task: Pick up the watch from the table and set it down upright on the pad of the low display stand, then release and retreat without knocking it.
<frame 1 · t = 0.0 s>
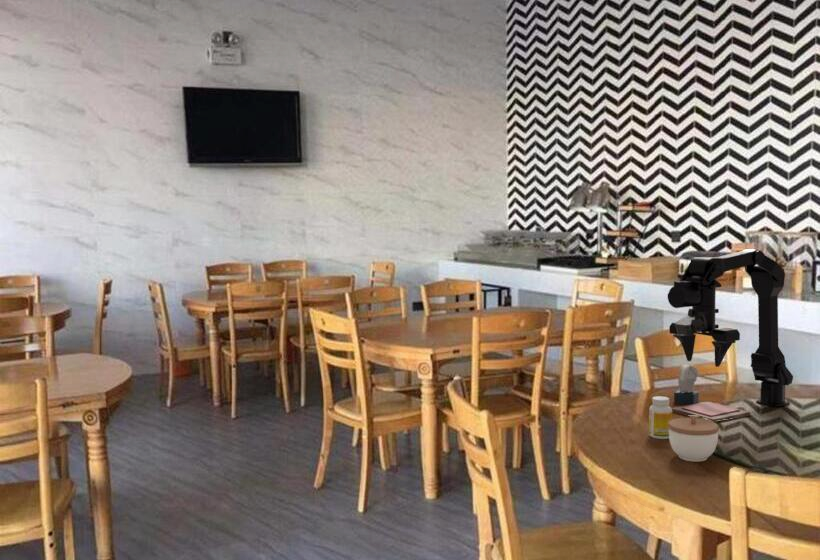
hand: (703, 363, 209), 15 cm above the table, fingers open, 9 cm apart
watch: (686, 403, 227), on the table
supplement bottle: (660, 437, 194), on the table
display plinth: (710, 413, 214), on the table
lidded jar: (692, 458, 178), on the table
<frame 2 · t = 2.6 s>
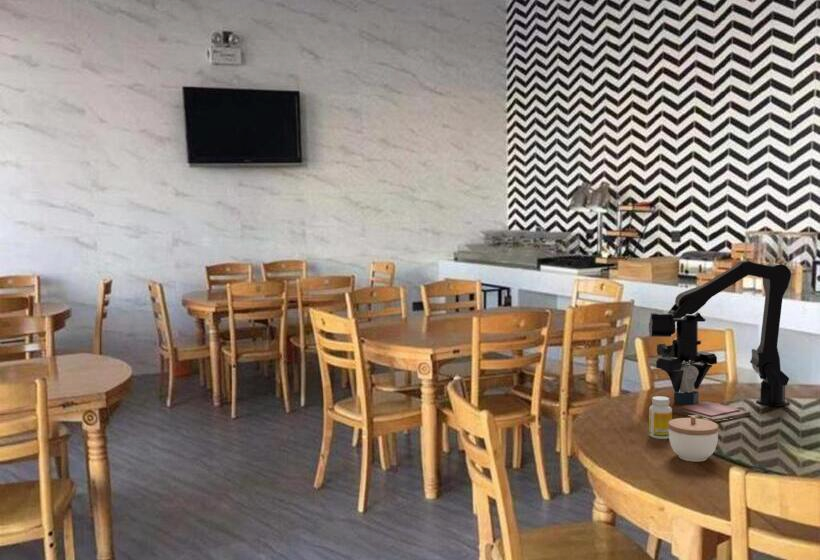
hand: (686, 390, 226), 4 cm above the table, fingers closed on watch, 7 cm apart
watch: (686, 403, 227), on the table, touching gripper
everything else where it was.
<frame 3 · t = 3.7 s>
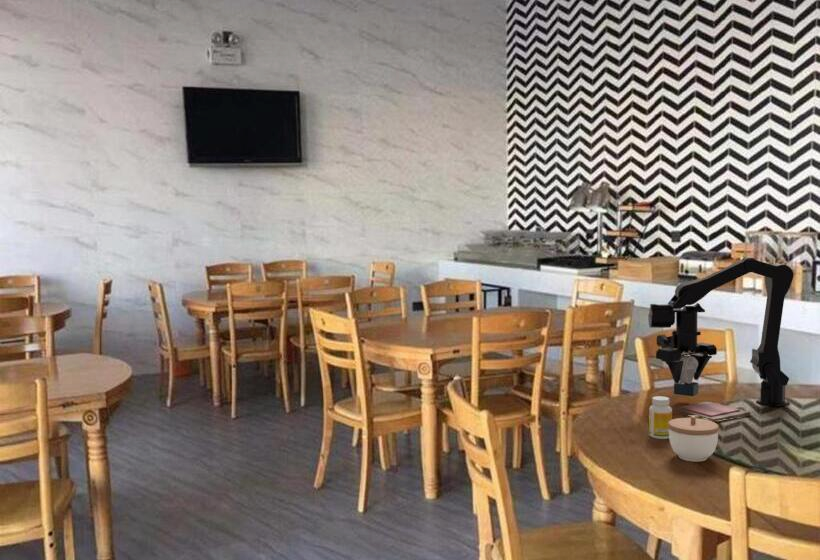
hand: (686, 381, 226), 6 cm above the table, fingers closed on watch, 7 cm apart
watch: (686, 394, 226), point 2 cm above the table, touching gripper
everything else where it was.
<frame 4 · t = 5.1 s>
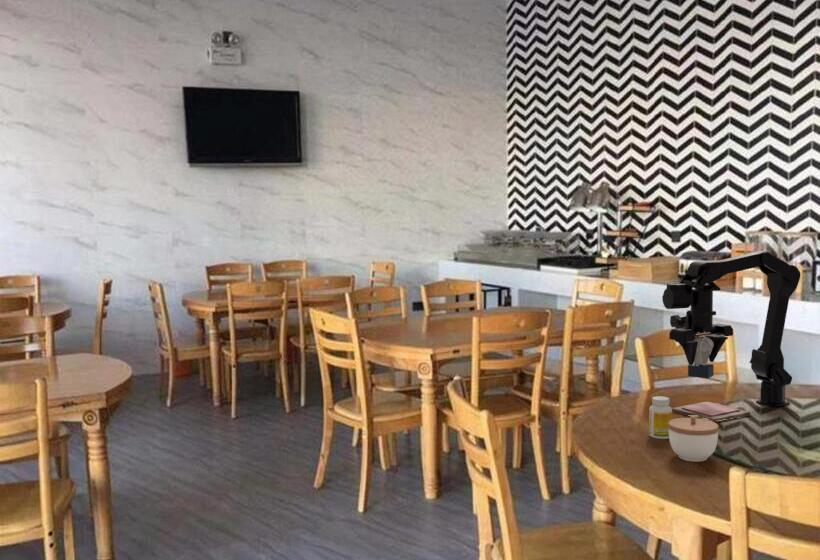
hand: (701, 363, 218), 13 cm above the table, fingers closed on watch, 7 cm apart
watch: (700, 376, 218), point 9 cm above the table, touching gripper
everything else where it was.
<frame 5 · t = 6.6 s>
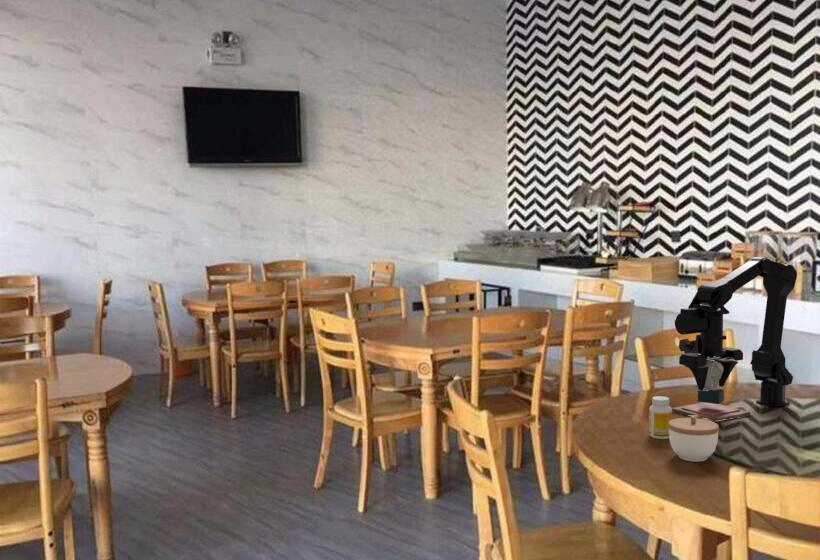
hand: (711, 388, 214), 7 cm above the table, fingers closed on watch, 7 cm apart
watch: (710, 401, 214), point 3 cm above the table, touching gripper
everything else where it was.
when the fingers open (6 cm above the table, at t = 7.7 s): watch drops 2 cm, resting on display plinth.
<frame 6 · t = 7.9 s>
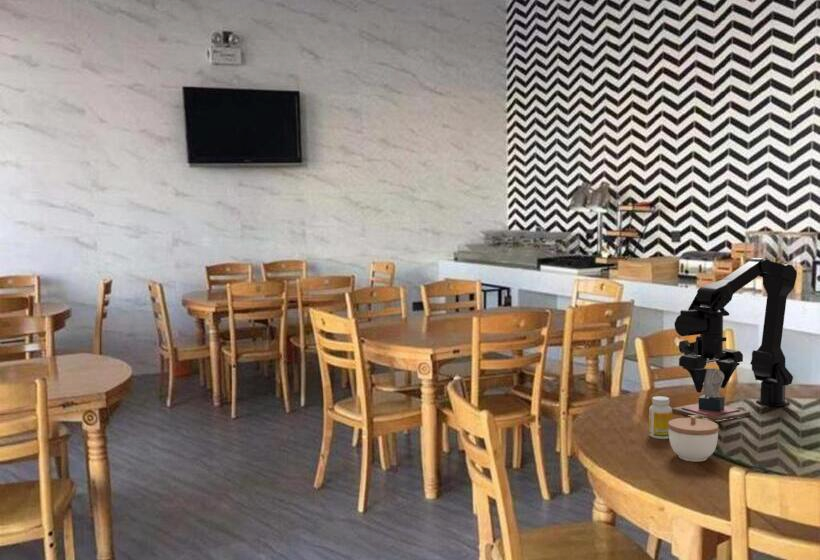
hand: (710, 390, 214), 6 cm above the table, fingers open, 9 cm apart
watch: (711, 409, 214), point 1 cm above the table, touching display plinth
everything else where it was.
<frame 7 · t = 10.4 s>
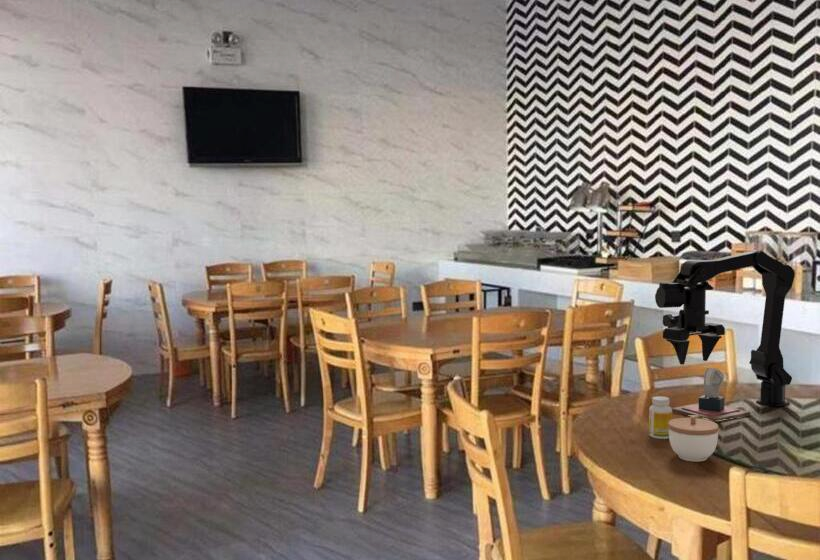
hand: (693, 362, 218), 13 cm above the table, fingers open, 9 cm apart
nothing on the table moved.
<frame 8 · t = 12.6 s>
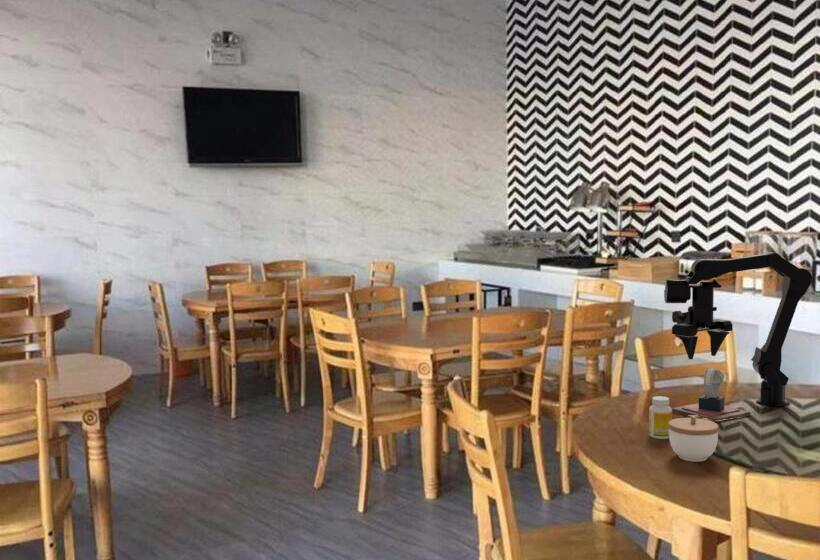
hand: (702, 357, 226), 13 cm above the table, fingers open, 9 cm apart
nothing on the table moved.
at the end: watch inside the target area on the display plinth (0.2 cm from its centre), point 1.2 cm above the display plinth's base; watch tilted 0°; the gripper is holding nothing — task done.
